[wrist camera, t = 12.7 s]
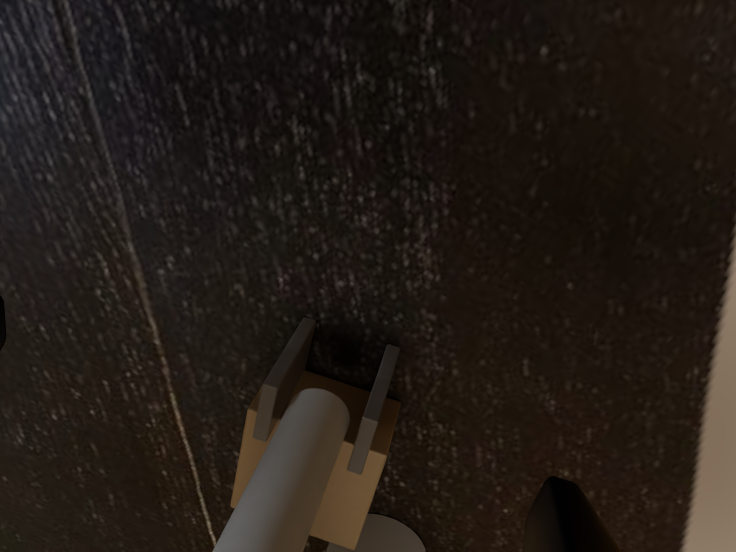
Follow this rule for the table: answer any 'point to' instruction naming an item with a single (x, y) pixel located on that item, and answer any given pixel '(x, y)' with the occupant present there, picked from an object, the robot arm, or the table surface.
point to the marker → (289, 477)
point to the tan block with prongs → (360, 445)
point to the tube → (383, 537)
